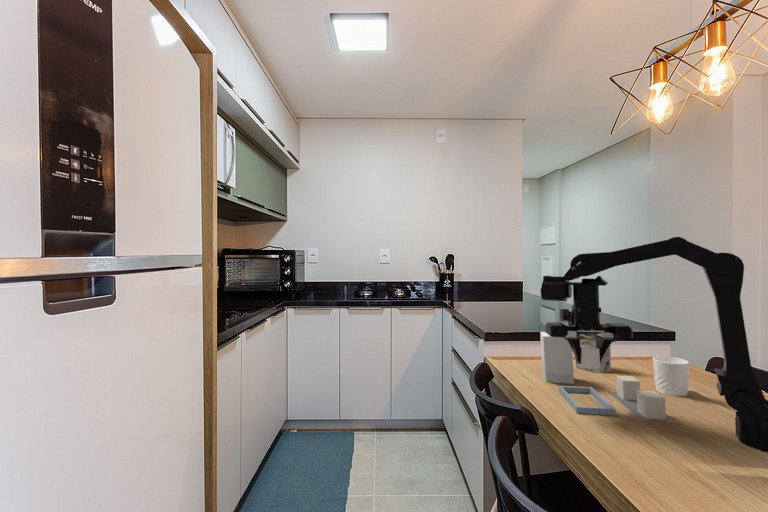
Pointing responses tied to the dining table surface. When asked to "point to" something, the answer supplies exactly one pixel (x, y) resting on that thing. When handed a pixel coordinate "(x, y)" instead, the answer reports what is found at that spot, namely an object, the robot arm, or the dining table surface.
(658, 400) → the stone
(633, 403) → the slate board
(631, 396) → the stone
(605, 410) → the blue bin
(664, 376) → the white cup
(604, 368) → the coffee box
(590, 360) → the stone
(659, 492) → the dining table surface
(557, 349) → the skincare box
